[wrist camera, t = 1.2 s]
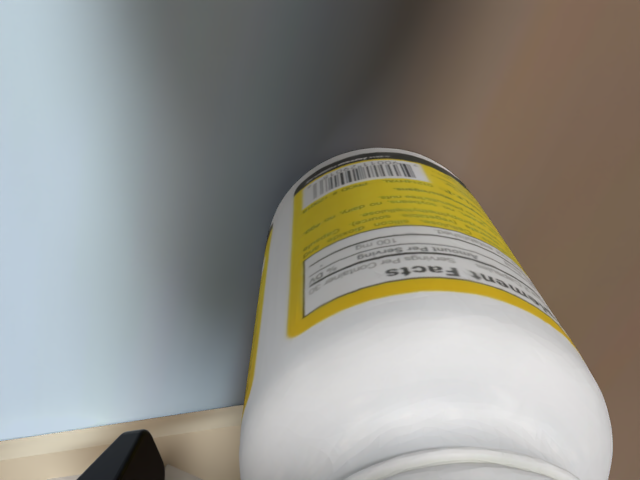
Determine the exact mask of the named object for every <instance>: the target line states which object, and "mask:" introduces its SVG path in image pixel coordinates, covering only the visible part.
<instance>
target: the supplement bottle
mask: <svg viewBox="0 0 640 480" xmlns="http://www.w3.org/2000/svg"><path fill="white" fill-rule="evenodd" d="M612 454H613V439H612V429H611V423H610V419H609V414H608V410H607V407H606V404H605V401H604V398H603V395H602V393H601V391H600V389H599V387H598V385H597V383H596V381H595V379H594V378H593V376H592V374H591V373H590V371H589V369H588V367H587V365H586V364H585V362H584V360H583V358H582V357H581V355H580V354H579V352H578V350H577V349H576V347H575V346H574V344H573V343H572V341H571V340H570V338H569V337H568V335H567V334H566V332H565V331H564V329H563V328H562V327H561V325H560V324H559V322H558V321H557V319H556V318H555V316H554V315H553V313H552V312H551V311H550V309H549V308H548V306H547V305H546V303H545V302H544V300H543V298H542V297H541V295H540V294H539V293H538V291H537V290H536V288H535V286H534V285H533V283H532V282H531V280H530V279H529V277H528V276H527V274H526V273H525V271H524V270H523V268H522V267H521V265H520V264H519V263H518V261H517V260H516V258H515V257H514V255H513V254H512V252H511V251H510V249H509V247H508V246H507V244H506V243H505V242H504V240H503V239H502V237H501V236H500V234H499V233H498V231H497V230H496V228H495V227H494V225H493V224H492V222H491V221H490V219H489V218H488V216H487V215H486V214H485V212H484V211H483V209H482V208H481V206H480V205H479V203H478V202H477V201H476V199H475V198H474V197H473V195H472V194H471V193H470V191H469V190H468V189H467V188H466V186H465V185H464V184H463V183H462V182H461V181H460V180H459V179H458V178H457V177H456V176H455V175H454V174H452V173H451V172H450V171H449V170H448V169H446V168H445V167H443V166H442V165H440V164H438V163H436V162H434V161H433V160H431V159H429V158H427V157H425V156H422V155H420V154H417V153H414V152H410V151H406V150H401V149H392V148H368V149H361V150H355V151H351V152H347V153H344V154H341V155H338V156H335V157H333V158H331V159H329V160H327V161H324V162H323V163H321V164H319V165H318V166H316V167H315V168H313V169H312V170H310V171H309V172H307V173H306V174H305V175H304V176H303V177H301V178H300V179H299V180H298V181H297V182H296V183H295V184H294V185H293V186H292V188H291V189H290V190H289V191H288V192H287V194H286V195H285V196H284V198H283V199H282V201H281V203H280V204H279V206H278V208H277V210H276V212H275V215H274V217H273V220H272V223H271V226H270V229H269V233H268V238H267V243H266V248H265V255H264V261H263V268H262V276H261V283H260V291H259V298H258V305H257V312H256V319H255V326H254V334H253V342H252V349H251V356H250V363H249V370H248V378H247V385H246V392H245V399H244V406H243V413H242V420H241V431H240V447H239V467H240V478H241V480H608V477H609V472H610V467H611V461H612Z"/></svg>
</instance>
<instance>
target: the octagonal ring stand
mask: <svg viewBox="0 0 640 480" xmlns="http://www.w3.org/2000/svg"><path fill="white" fill-rule="evenodd" d="M243 406H244V405H238V406H232V407H225V408H219V409H212V410H205V411H199V412H192V413H185V414H179V415H172V416H165V417H159V418H152V419H145V420H139V421H132V422H125V423H119V424H112V425H106V426H99V427H92V428H86V429H79V430H72V431H66V432H59V433H52V434H46V435H39V436H32V437H26V438H19V439H13V440H6V441H0V480H76V479H77V478H78V477H79V476H80V475H81V474H82V473H83V472H84V471H85V470H86V469H87V468H88V467H89V466H90V465H91V464H92V463H93V462H94V461H95V460H96V459H97V458H98V457H99V456H100V455H101V454H102V453H103V452H104V451H105V450H106V449H107V448H108V447H109V446H110V445H111V444H112V443H113V442H114V441H115V440H116V439H117V438H118V437H119V436H120V435H121V434H122V433H124V432H127V431H133V430H140V429H146V430H148V431H149V432H150V433H151V435H152V437H153V439H154V442H155V444H156V446H157V448H158V451H159V453H160V455H161V457H162V460H163V462H164V466H165V480H241V478H240V467H239V447H240V431H241V420H242V413H243Z"/></svg>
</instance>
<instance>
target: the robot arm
mask: <svg viewBox="0 0 640 480" xmlns="http://www.w3.org/2000/svg"><path fill="white" fill-rule="evenodd" d="M76 480H165V466H164V462H163V460H162V457H161V455H160V453H159V451H158V448H157V446H156V444H155V442H154V439H153V437H152V435H151V433H150V432H149V431H148V430H146V429H140V430H133V431H127V432H124V433H122V434H121V435H120V436H119V437H118V438H117V439H116V440H115V441H114V442H113V443H112V444H111V445H110V446H109V447H108V448H107V449H106V450H105V451H104V452H103V453H102V454H101V455H100V456H99V457H98V458H97V459H96V460H95V461H94V462H93V463H92V464H91V465H90V466H89V467H88V468H87V469H86V470H85V471H84V472H83V473H82V474H81V475H80V476H79V477H78V478H77V479H76Z"/></svg>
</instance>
